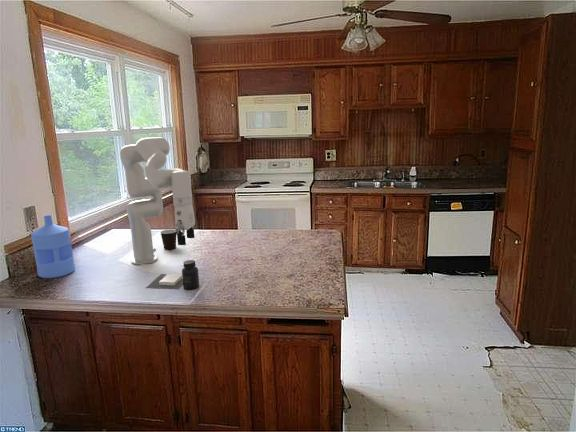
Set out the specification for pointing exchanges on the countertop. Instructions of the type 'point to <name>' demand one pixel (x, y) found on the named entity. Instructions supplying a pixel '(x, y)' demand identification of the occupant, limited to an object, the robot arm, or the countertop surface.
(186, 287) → the supplement bottle
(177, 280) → the block
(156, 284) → the mat
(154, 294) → the countertop surface
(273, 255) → the countertop surface
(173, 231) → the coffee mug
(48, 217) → the water jug
